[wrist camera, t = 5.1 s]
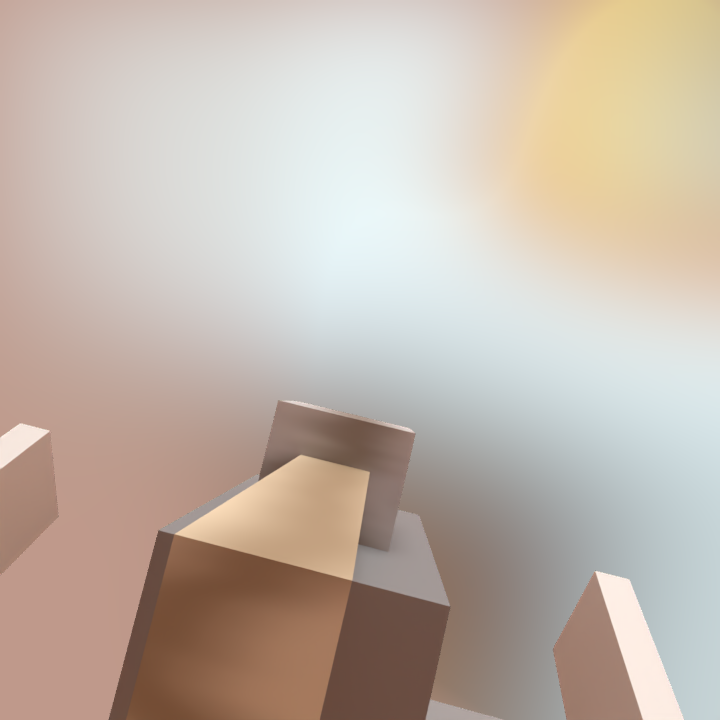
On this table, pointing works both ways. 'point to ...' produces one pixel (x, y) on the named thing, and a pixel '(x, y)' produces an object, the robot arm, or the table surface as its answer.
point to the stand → (350, 628)
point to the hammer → (272, 574)
